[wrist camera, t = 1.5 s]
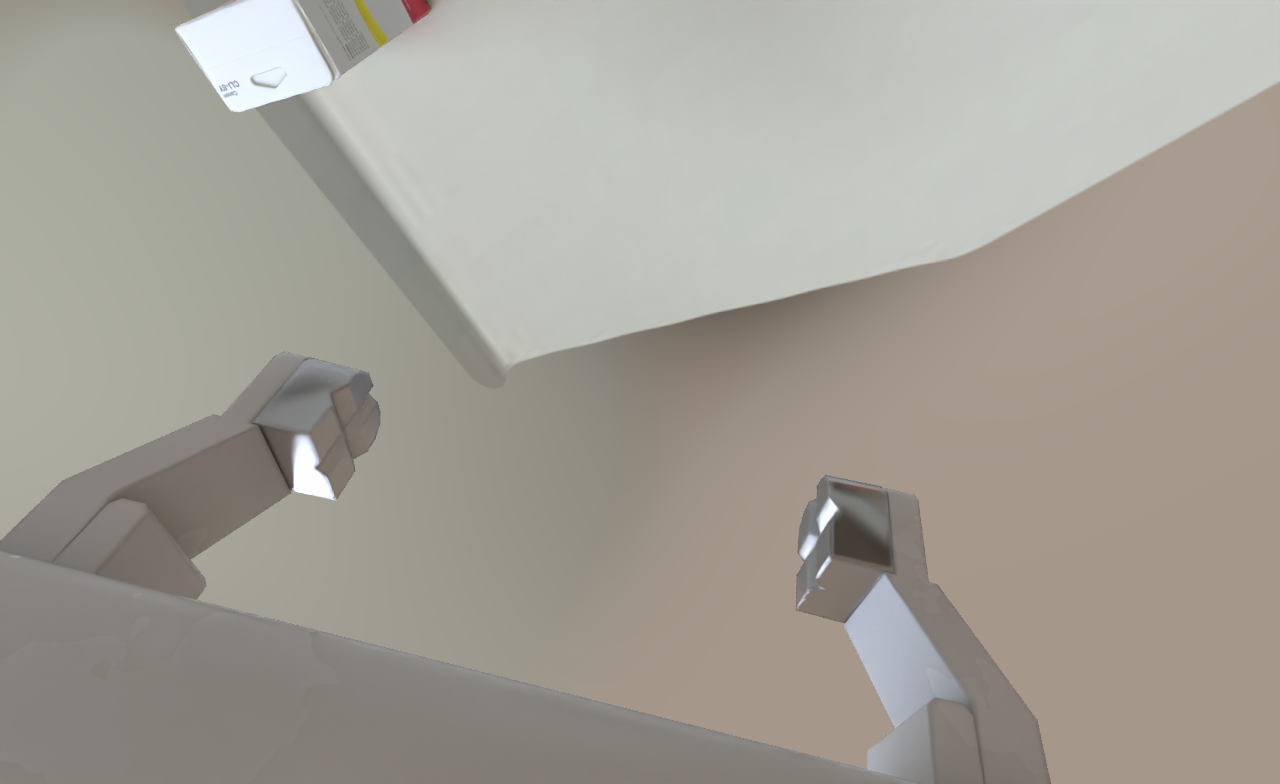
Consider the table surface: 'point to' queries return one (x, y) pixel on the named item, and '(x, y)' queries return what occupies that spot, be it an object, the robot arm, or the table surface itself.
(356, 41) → the ink box
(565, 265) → the table surface
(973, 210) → the table surface
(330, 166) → the table surface
